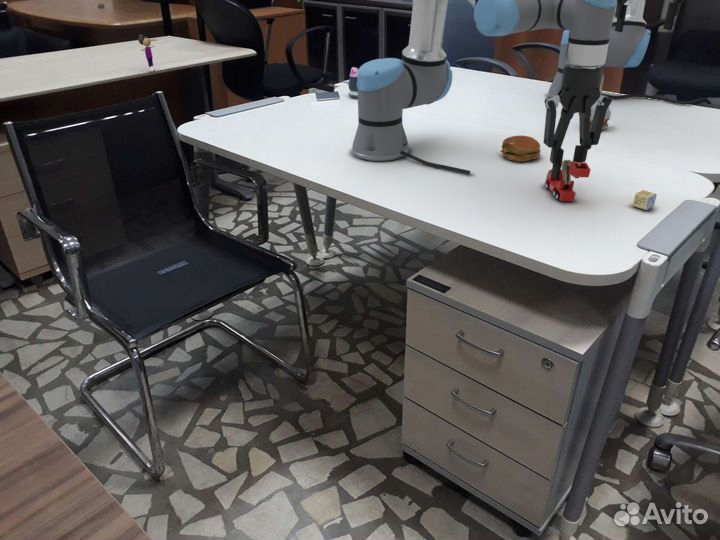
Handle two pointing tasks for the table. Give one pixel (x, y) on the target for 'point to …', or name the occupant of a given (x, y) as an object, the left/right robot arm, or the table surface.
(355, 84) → the running shoe
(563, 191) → the toy fire truck
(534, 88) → the table surface
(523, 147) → the burger
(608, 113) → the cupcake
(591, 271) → the table surface
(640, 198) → the alphabet block
